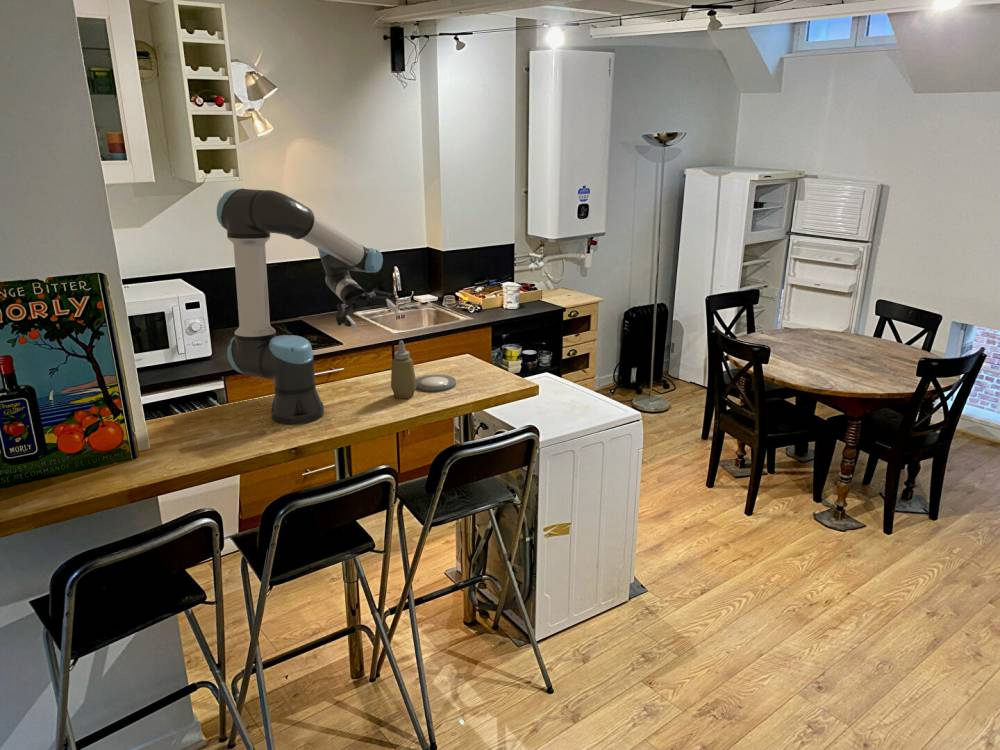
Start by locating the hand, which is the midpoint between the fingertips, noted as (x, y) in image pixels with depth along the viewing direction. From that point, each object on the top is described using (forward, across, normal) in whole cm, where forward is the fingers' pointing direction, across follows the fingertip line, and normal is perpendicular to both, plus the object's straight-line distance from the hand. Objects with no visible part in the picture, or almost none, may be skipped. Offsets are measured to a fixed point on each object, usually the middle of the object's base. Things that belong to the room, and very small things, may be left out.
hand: (376, 319), depth 231 cm
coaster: (+4, -11, -29) cm, 31 cm away
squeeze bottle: (+9, +1, -25) cm, 26 cm away
